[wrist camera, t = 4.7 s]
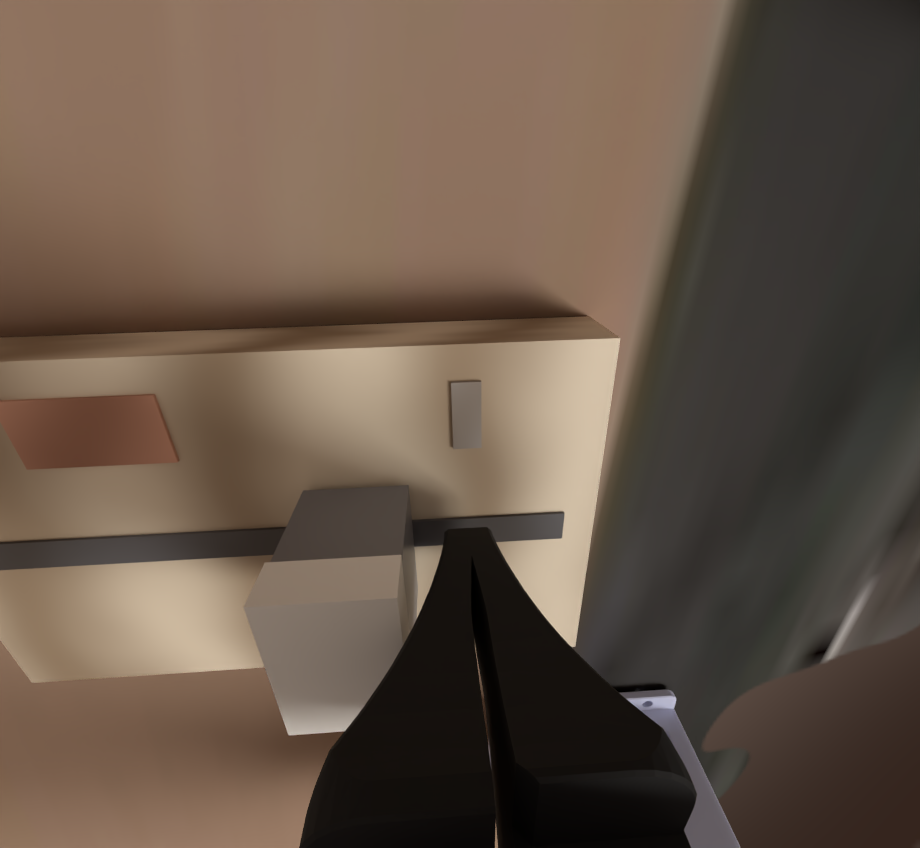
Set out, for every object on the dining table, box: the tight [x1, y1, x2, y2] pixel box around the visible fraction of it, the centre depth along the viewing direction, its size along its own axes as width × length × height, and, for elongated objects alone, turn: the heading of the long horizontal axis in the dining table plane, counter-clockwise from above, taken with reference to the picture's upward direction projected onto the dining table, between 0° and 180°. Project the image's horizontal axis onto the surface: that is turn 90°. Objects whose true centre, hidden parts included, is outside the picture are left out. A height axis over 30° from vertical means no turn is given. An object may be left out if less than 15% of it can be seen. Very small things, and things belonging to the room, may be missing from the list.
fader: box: [243, 485, 418, 735], centre depth 11 cm, size 3×4×4 cm
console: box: [0, 316, 620, 683], centre depth 14 cm, size 20×12×3 cm, turn 91°
